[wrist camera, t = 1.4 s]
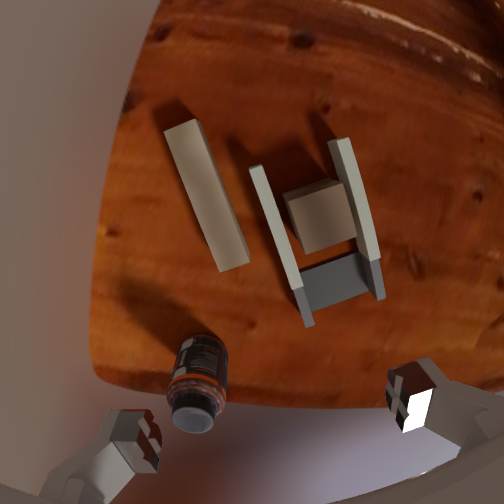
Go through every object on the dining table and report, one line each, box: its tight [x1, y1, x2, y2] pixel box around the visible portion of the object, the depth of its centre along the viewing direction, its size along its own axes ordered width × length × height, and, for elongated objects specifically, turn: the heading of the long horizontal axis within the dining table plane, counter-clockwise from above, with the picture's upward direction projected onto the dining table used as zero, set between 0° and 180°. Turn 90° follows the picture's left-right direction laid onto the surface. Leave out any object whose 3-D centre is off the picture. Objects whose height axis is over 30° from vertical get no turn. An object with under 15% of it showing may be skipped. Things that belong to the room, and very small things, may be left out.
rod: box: [164, 119, 250, 272], centre depth 30 cm, size 3×14×4 cm, turn 20°
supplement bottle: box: [167, 334, 228, 433], centre depth 31 cm, size 6×6×11 cm
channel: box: [249, 137, 386, 328], centre depth 31 cm, size 9×17×4 cm, turn 20°
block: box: [282, 178, 357, 255], centre depth 29 cm, size 5×5×5 cm
